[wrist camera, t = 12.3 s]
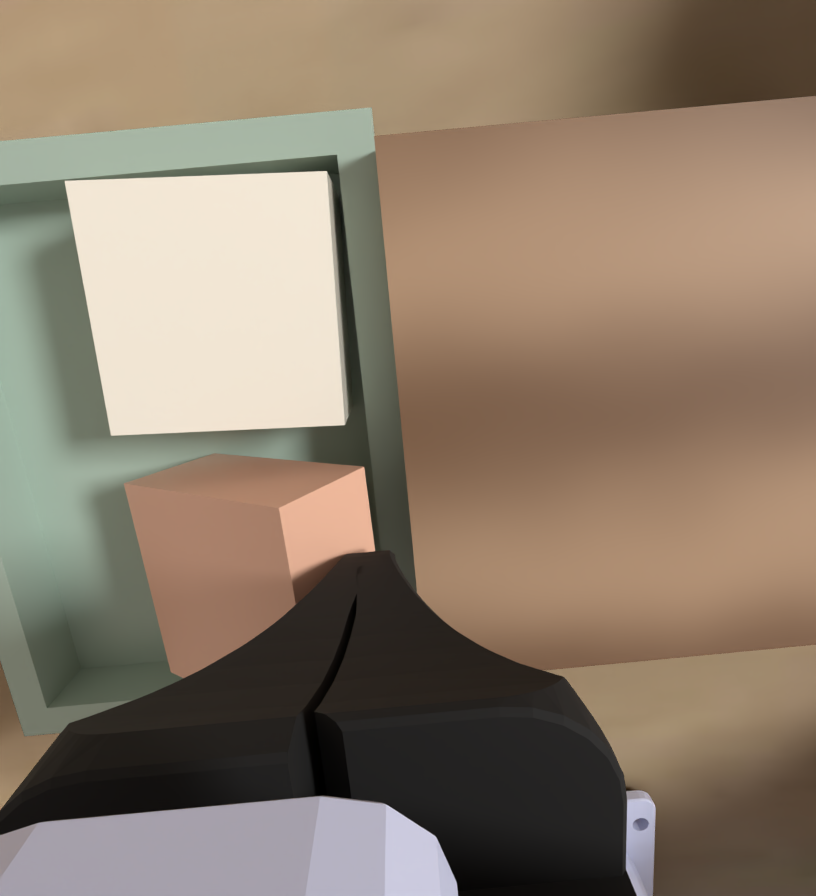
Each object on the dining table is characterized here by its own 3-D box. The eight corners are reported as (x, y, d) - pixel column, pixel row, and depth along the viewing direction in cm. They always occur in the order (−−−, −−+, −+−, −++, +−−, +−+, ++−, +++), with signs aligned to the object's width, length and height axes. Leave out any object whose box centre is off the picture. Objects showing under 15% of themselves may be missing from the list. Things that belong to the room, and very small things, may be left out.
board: (753, 582, 16) (832, 642, 13) (419, 614, 16) (425, 681, 13) (788, 137, 13) (901, 88, 10) (378, 174, 13) (374, 135, 10)
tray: (423, 652, 16) (427, 698, 14) (68, 685, 16) (24, 736, 14) (374, 138, 13) (371, 107, 11) (-78, 179, 13) (-162, 155, 11)
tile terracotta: (390, 667, 13) (319, 741, 11) (247, 620, 16) (170, 672, 14) (364, 466, 12) (279, 507, 10) (214, 453, 14) (123, 483, 12)
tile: (353, 405, 14) (344, 425, 12) (159, 413, 14) (110, 435, 12) (339, 196, 13) (326, 170, 10) (127, 205, 13) (64, 180, 10)
